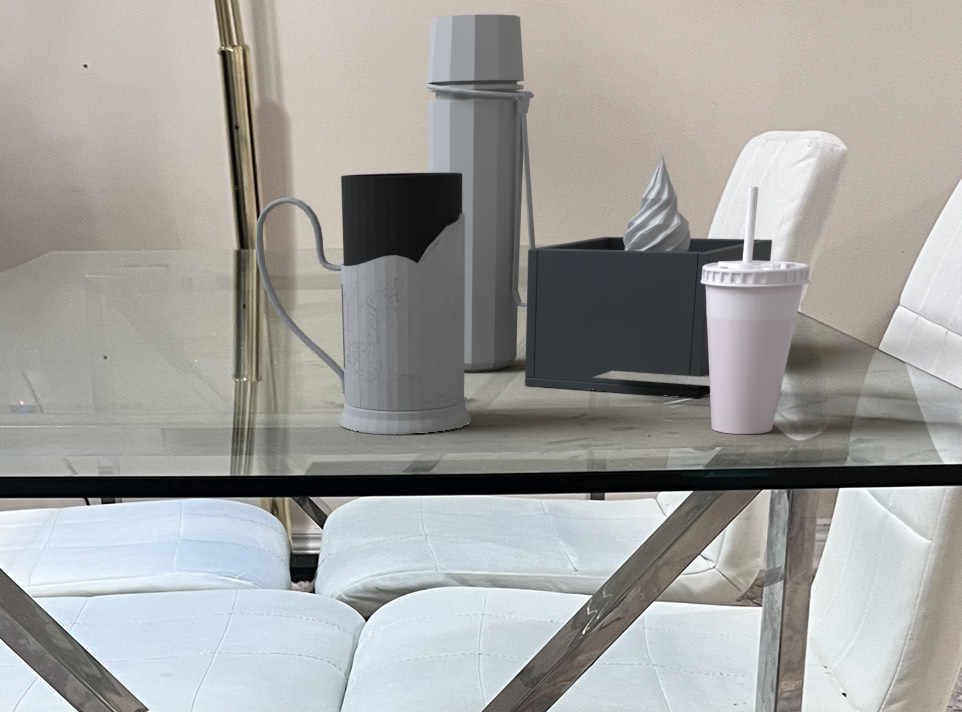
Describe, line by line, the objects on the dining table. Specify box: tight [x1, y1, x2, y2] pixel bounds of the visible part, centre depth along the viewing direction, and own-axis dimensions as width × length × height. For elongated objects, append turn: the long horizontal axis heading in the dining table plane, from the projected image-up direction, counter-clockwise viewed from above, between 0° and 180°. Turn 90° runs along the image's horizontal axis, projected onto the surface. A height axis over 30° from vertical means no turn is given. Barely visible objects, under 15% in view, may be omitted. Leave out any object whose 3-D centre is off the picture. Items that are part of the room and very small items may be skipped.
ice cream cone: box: [623, 154, 692, 252], centre depth 103 cm, size 5×5×15 cm
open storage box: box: [524, 236, 773, 400], centre depth 105 cm, size 14×14×10 cm
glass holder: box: [254, 172, 472, 435], centre depth 90 cm, size 9×14×15 cm, turn 73°
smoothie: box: [701, 186, 811, 435], centre depth 85 cm, size 6×6×14 cm
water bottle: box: [425, 13, 536, 373], centre depth 108 cm, size 9×8×25 cm
